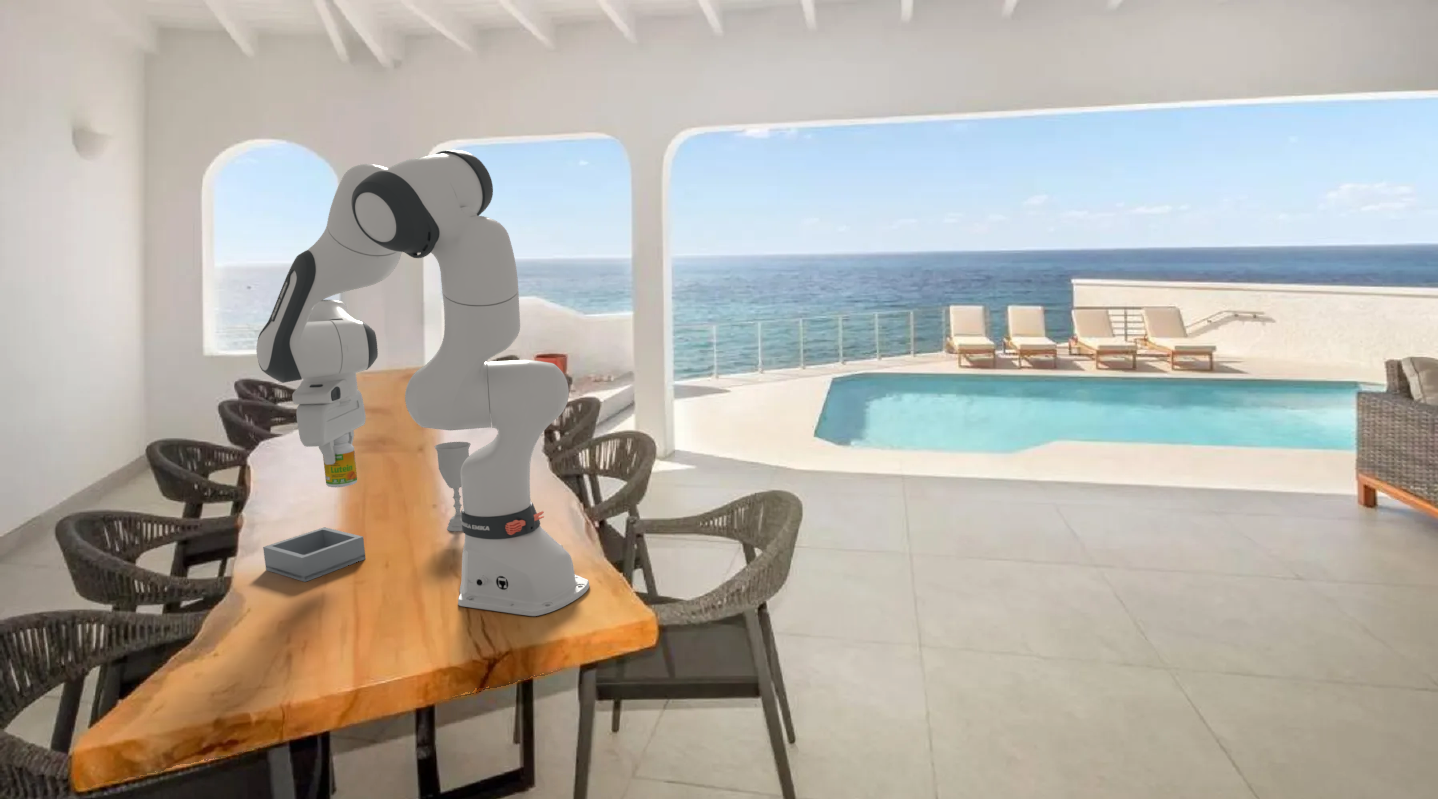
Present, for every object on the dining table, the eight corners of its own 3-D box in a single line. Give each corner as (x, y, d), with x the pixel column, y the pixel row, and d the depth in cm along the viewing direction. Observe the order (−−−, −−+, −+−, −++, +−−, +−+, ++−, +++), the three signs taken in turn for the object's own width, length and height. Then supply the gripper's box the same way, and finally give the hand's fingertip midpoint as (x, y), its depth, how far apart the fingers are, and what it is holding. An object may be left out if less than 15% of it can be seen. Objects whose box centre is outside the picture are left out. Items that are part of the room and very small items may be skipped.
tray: (365, 559, 143) (363, 536, 142) (305, 582, 133) (302, 557, 132) (326, 548, 149) (324, 527, 148) (266, 570, 139) (263, 547, 138)
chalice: (436, 532, 157) (428, 449, 154) (448, 522, 164) (441, 441, 161) (470, 532, 157) (463, 449, 154) (481, 521, 163) (475, 441, 160)
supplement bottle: (329, 489, 139) (324, 438, 138) (323, 483, 144) (317, 434, 142) (360, 484, 143) (355, 434, 141) (353, 478, 147) (348, 430, 145)
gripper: (338, 379, 150) (345, 446, 152) (286, 396, 130) (296, 473, 132) (370, 378, 150) (377, 445, 153) (324, 395, 130) (332, 472, 133)
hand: (339, 459), depth 142 cm, fingers closed on supplement bottle, 5 cm apart
